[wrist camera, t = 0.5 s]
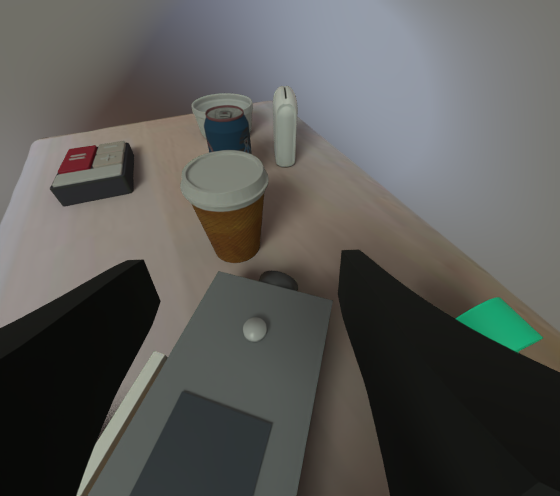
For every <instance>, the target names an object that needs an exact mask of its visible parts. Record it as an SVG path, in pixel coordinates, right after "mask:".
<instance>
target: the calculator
mask: <svg viewBox="0 0 560 496" xmlns="http://www.w3.org/2000/svg"><path fill="white" fill-rule="evenodd" d="M133 168H134V154H133V152H132V150H131V147H130V145H129V143H125V141H120V142H113V143H107V144H101V145H99V147H96V146H95V145H94V146H87V147H80V148H74V149H69V151H68V152H67V154H66V156H65V158H64V160H63V162H62V164H61V166H60V168H59V170H58V174H57V176H56V178H55V179H54V181H53V183H52V185H51V187H50V190H51V191H52V192H53V194H54V195H55V196H56V198H57V199H58V200H59V202H60V203H61V204H62V205H63V206H69V205H74V204H79V203H84V202H89V201H94V200H99V199H105V198H110V197H115V196H120V195H125V194H130V193H132V192H133Z"/></svg>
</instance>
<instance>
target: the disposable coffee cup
mask: <svg viewBox="0 0 560 496" xmlns="http://www.w3.org/2000/svg"><path fill="white" fill-rule="evenodd" d="M267 185H268V174H267V172H266V171H265V169H264V167H263V165H262V162H261V161H260V160H259V159H258V158H257V157H255V156H254V155H252V154H249V153H246V152H242V151H235V150H223V151H216V152H210V153H207V154H204V155H201V156H198V157H197V158H195V159H193V160H192V161H190V162H189V163H188V164H187V165H186V166H185V167H184V169H183V171H182V181H181V191H182V194H183V195H184V197H185V198H186V199H187V200H188V201H189V202H190V203H191V204H192V206H193V208H194V210H195V212H196V214H197V216H198V218H199V220H200V222H201V224H202V225H203V228H204V230H205V232H206V234H207V236H208V238H209V240H210V242H211V244H212V246H213V248H214V250H215V252H216V254H217V256H218V257H219V258H220V259H222V260H224V261H226V262H230V263H240V262H244V261H247V260H249V259H250V258H252V257H253V256H254V255H255V254H256V253H257V252H258V250H259V246H260V235H261V225H262V211H263V200H264V192H265V190H266V187H267Z"/></svg>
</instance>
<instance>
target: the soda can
mask: <svg viewBox="0 0 560 496" xmlns="http://www.w3.org/2000/svg"><path fill="white" fill-rule="evenodd" d="M205 115H206V118H205V122H204V130H205V134H206V139H207V143H208V148H209V153H210V152H216V151H223V150H235V151H242V152H246V153H249V154H251V143H250V132H249V122H248V120H247V118H246V117H245V115H244V111H243V109H242V108H240V107H238V106H233V105H221V106H216V107H212V108H210V109H208V110H207V111H206V112H205Z"/></svg>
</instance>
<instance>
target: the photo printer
mask: <svg viewBox="0 0 560 496" xmlns="http://www.w3.org/2000/svg"><path fill="white" fill-rule="evenodd" d="M297 112H298V110H297V100H296V96H295V94H294V92H293V90H292V89H291V88H290V87H289V86H285V87H283V86H280V87H279V88H278V89H277V90H276V91H275V94H274V98H273V115H274V152H275V160H276V164H277V165H279V166H281V167H289V166H292V165H293V164H294V163H295V156H296V131H297Z"/></svg>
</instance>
